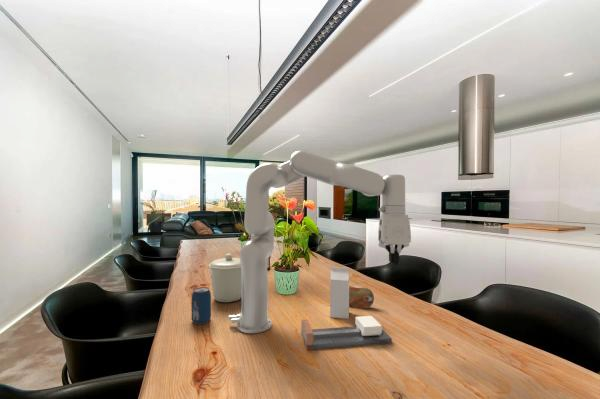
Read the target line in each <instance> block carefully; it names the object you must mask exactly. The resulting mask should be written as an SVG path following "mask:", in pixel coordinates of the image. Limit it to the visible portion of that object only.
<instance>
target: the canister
mask: <svg viewBox="0 0 600 399" xmlns="http://www.w3.org/2000/svg"><path fill="white" fill-rule="evenodd" d="M208 268H210V269H209V271H210V279H211V280H210V281H211V288H212V289H211V290H212V294H213V298H214V299H215V301H217V302H220V303H233V302H236V301H239V300H240V299H241V287H242V284H241V264H240V257H234V255H233V254H232V253H230V252H229V253H226V254H225V255H224V257H223V258H218V259H214V260H213V261H211V262H210V263H208Z"/></svg>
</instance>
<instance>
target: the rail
mask: <svg viewBox="0 0 600 399" xmlns="http://www.w3.org/2000/svg"><path fill="white" fill-rule="evenodd" d="M301 337H302V340H303V343H304V345H305V349H306V350H307V351H311V350H323V349H334V348H335V349H336V348H337V349H339V348H348V347H359V346H360V347H361V346H362V347H363V346H371V345H386V344H392V343H393V339H392V337H391V336H390V334H388V333H387V332H386V331H385V330H384V329H383V328H382V334H380V335H373V336H362V335H361V330H360V329H357V325H356V326H355V325H354V326H341V327H331V328H330V327H328V328H327V327H325V328H314V329H313V328H312V326H311V325H310V323H309V321H308V319H301Z"/></svg>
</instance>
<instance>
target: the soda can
mask: <svg viewBox="0 0 600 399" xmlns="http://www.w3.org/2000/svg"><path fill="white" fill-rule="evenodd" d="M211 318H212V292H211V291H210V288H209V287H206V286H205V287H204V286H201V287H197V288H194V289H193V292H192V293H191V320H192V323H193V324H194V323H195V325H204V324H207V323H208V322H209V321H210V320H211Z"/></svg>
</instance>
